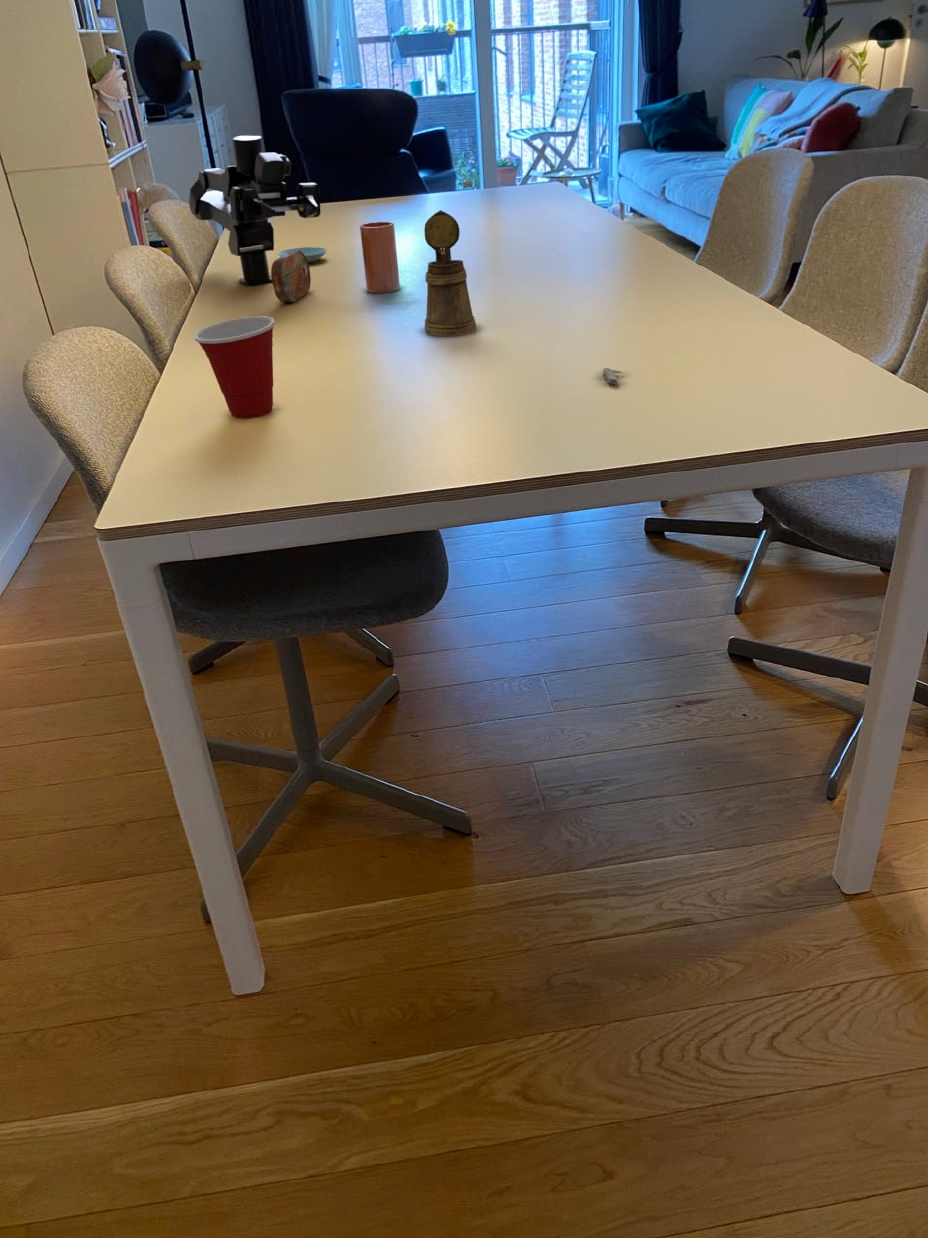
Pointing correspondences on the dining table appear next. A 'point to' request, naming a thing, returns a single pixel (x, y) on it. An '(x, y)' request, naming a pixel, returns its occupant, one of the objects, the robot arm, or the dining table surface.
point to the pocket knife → (610, 375)
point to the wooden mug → (446, 281)
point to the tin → (291, 276)
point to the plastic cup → (242, 363)
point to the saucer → (307, 253)
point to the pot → (380, 257)
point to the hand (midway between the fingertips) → (296, 211)
